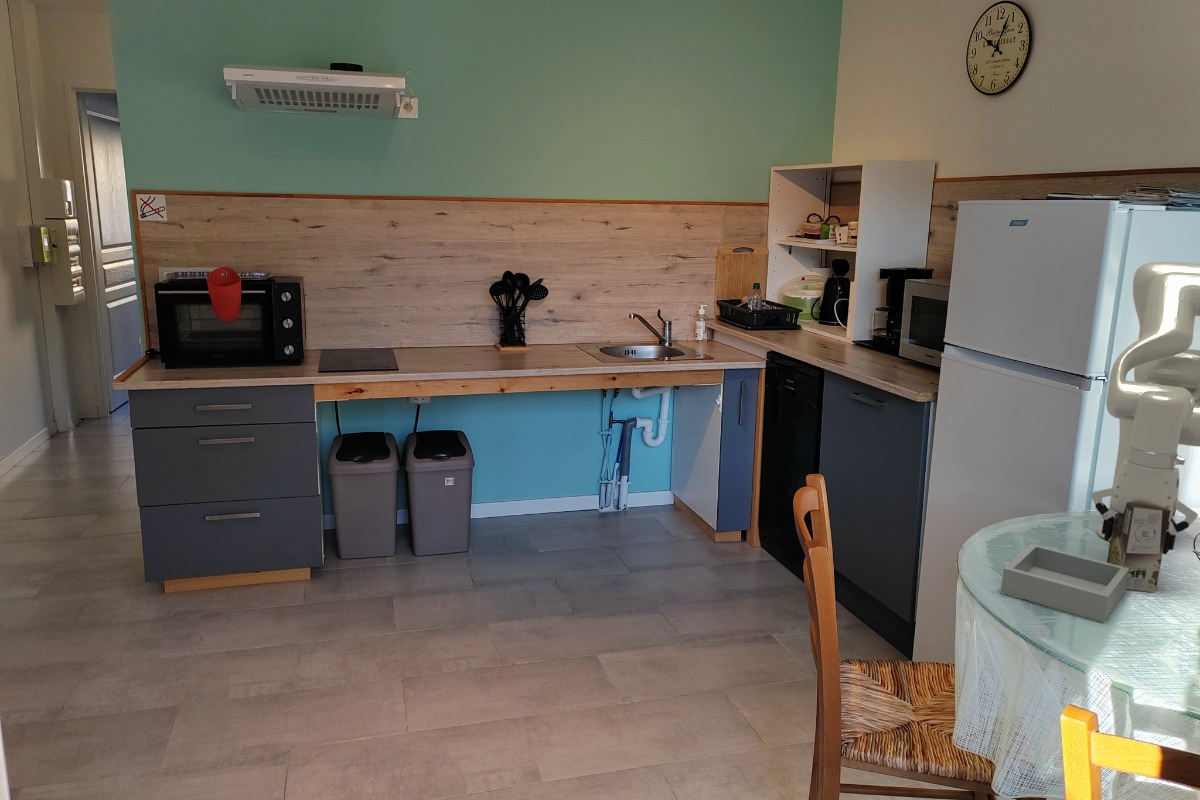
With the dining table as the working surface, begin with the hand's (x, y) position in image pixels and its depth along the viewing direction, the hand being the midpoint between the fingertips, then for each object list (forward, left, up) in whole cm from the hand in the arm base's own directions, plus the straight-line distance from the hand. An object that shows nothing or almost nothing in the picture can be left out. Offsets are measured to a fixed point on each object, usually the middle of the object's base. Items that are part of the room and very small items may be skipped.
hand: (1136, 545), depth 171 cm
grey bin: (+15, -8, -7) cm, 19 cm away
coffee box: (0, 0, -8) cm, 8 cm away
